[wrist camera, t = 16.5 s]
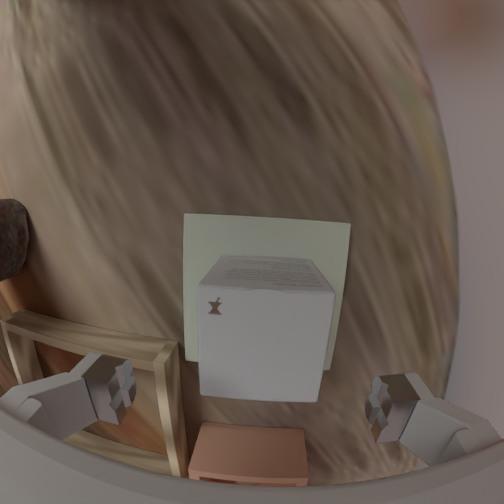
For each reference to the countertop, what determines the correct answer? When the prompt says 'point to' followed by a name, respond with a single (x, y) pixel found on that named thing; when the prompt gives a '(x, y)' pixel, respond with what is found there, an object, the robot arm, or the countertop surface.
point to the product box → (263, 328)
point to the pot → (250, 455)
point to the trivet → (260, 244)
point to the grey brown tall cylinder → (12, 237)
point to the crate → (119, 345)
